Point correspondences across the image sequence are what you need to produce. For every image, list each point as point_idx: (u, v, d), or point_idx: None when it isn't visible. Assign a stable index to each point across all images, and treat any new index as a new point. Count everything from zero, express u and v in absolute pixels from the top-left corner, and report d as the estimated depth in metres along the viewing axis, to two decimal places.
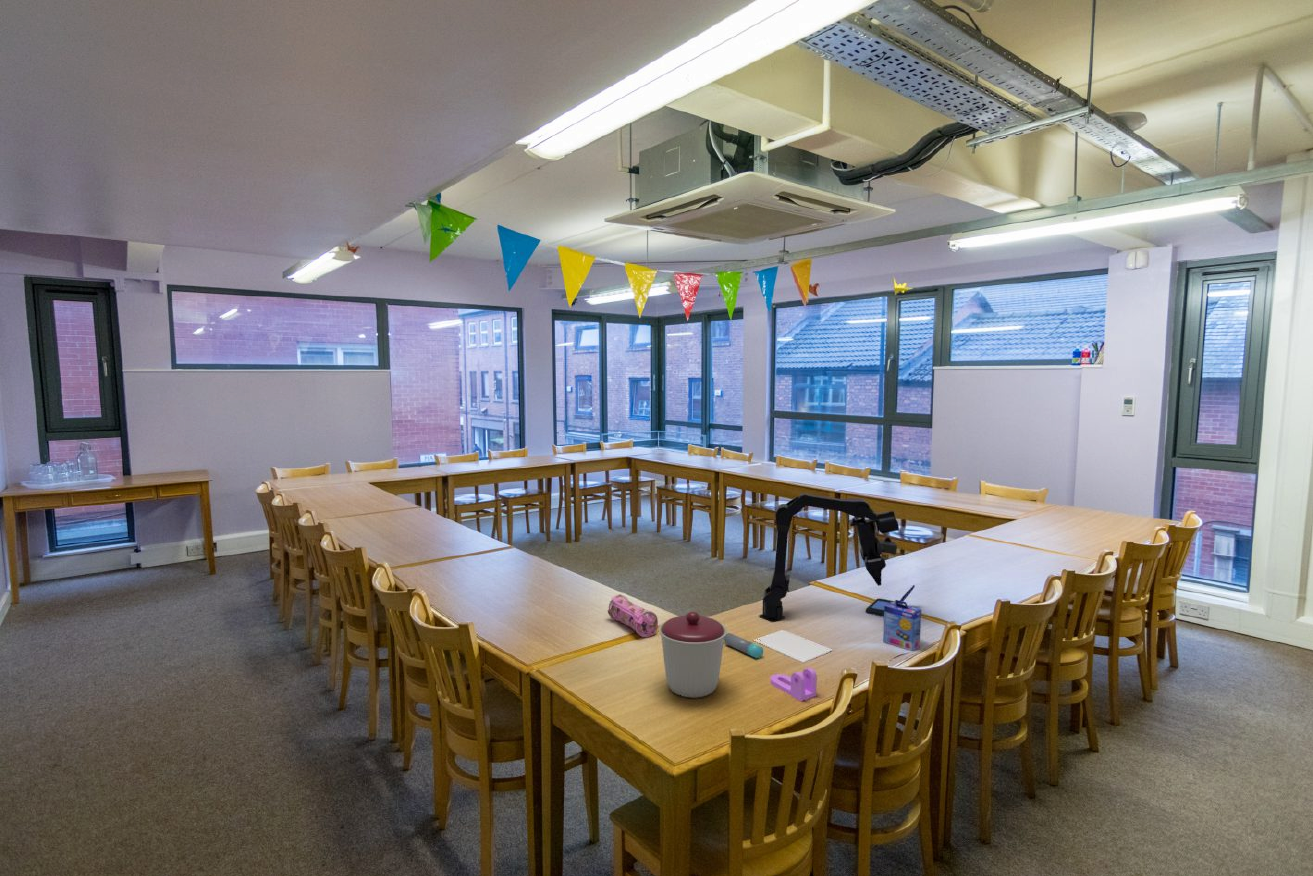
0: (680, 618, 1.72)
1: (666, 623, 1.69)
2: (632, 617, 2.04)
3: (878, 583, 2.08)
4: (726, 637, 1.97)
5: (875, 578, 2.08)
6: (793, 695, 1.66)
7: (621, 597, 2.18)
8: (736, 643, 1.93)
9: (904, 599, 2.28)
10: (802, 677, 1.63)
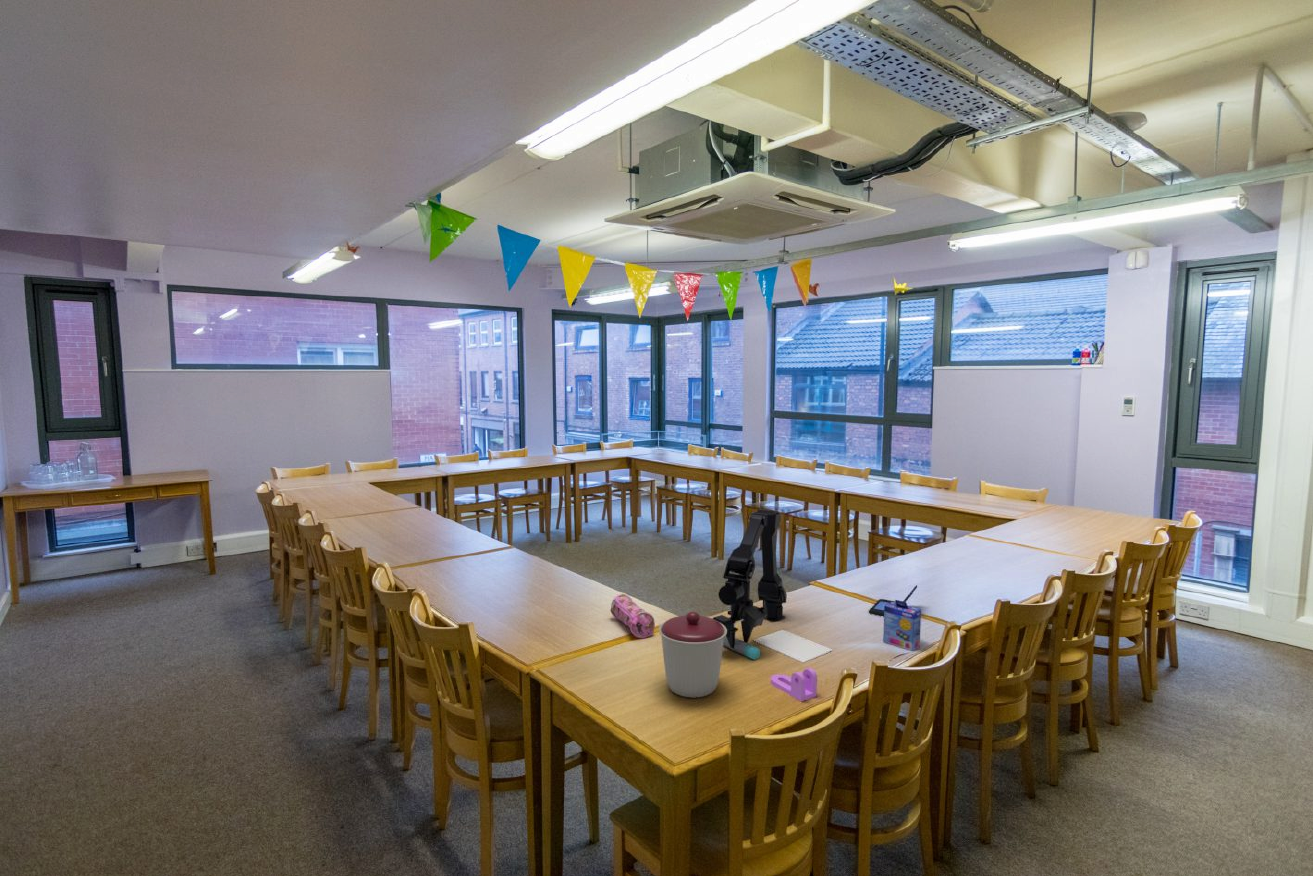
0: (680, 618, 1.72)
1: (666, 623, 1.69)
2: (628, 617, 2.04)
3: (730, 644, 1.93)
4: None
5: (727, 638, 1.93)
6: (793, 695, 1.65)
7: (624, 597, 2.19)
8: (733, 648, 1.93)
9: (907, 599, 2.27)
10: (802, 677, 1.63)
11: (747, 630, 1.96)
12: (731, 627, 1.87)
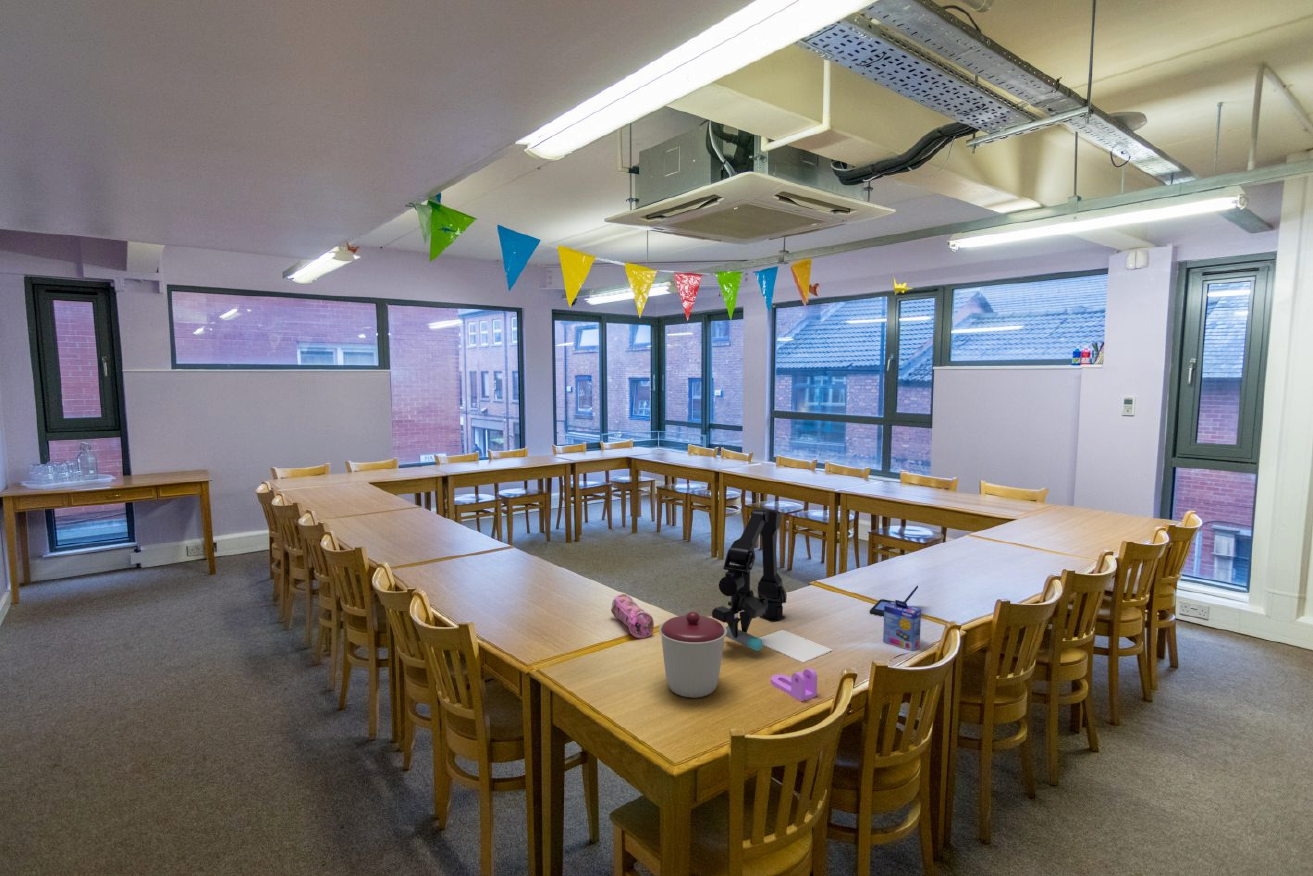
0: (680, 618, 1.72)
1: (666, 623, 1.69)
2: (627, 617, 2.04)
3: (733, 634, 1.93)
4: None
5: (730, 629, 1.93)
6: (793, 695, 1.65)
7: (625, 597, 2.19)
8: None
9: None
10: (802, 677, 1.63)
11: (745, 621, 1.95)
12: (732, 618, 1.87)
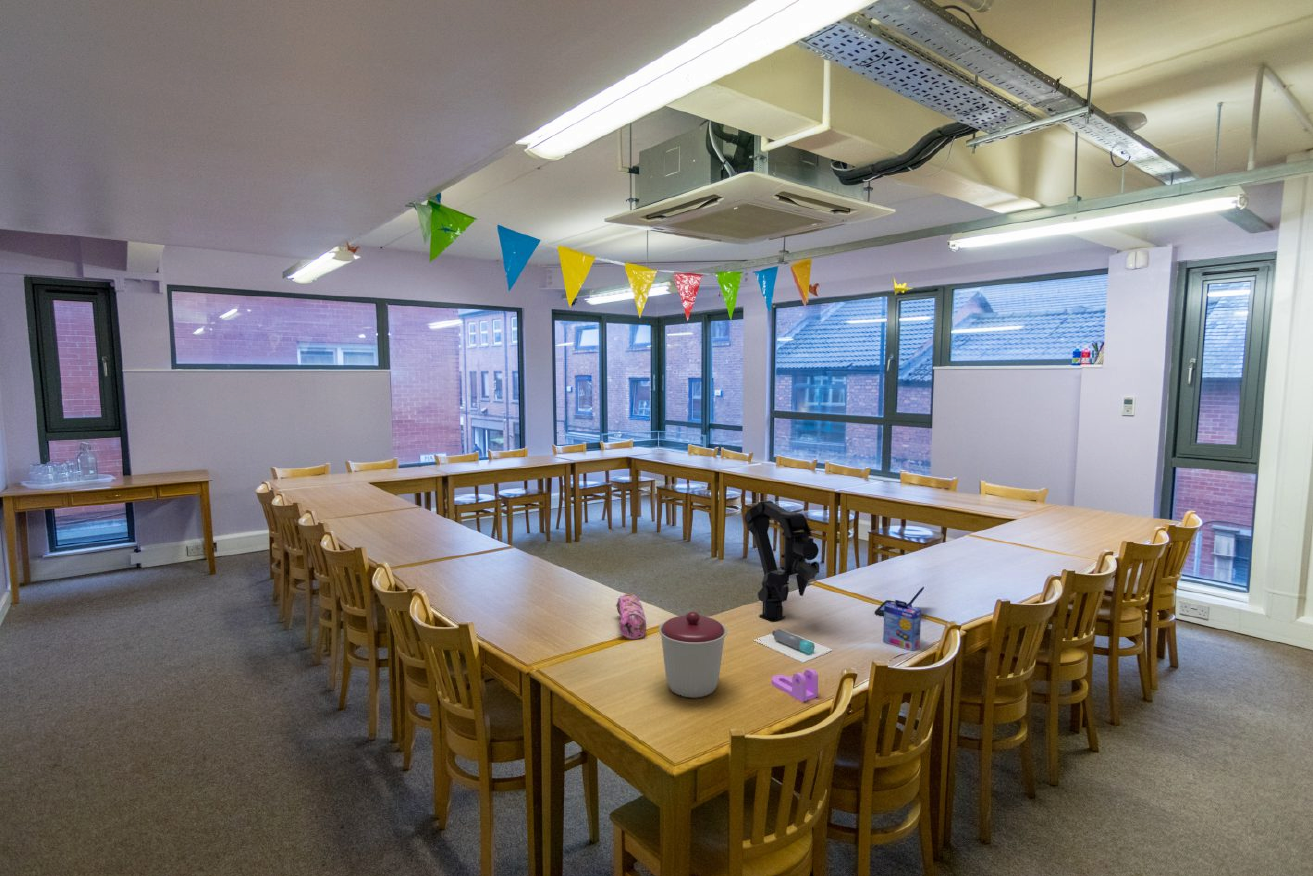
0: (680, 618, 1.72)
1: (666, 623, 1.69)
2: None
3: (781, 598, 2.06)
4: (775, 638, 2.00)
5: (778, 593, 2.06)
6: (794, 696, 1.65)
7: (630, 596, 2.19)
8: (787, 644, 1.96)
9: None
10: (803, 678, 1.63)
11: (802, 583, 2.11)
12: (786, 580, 2.01)
